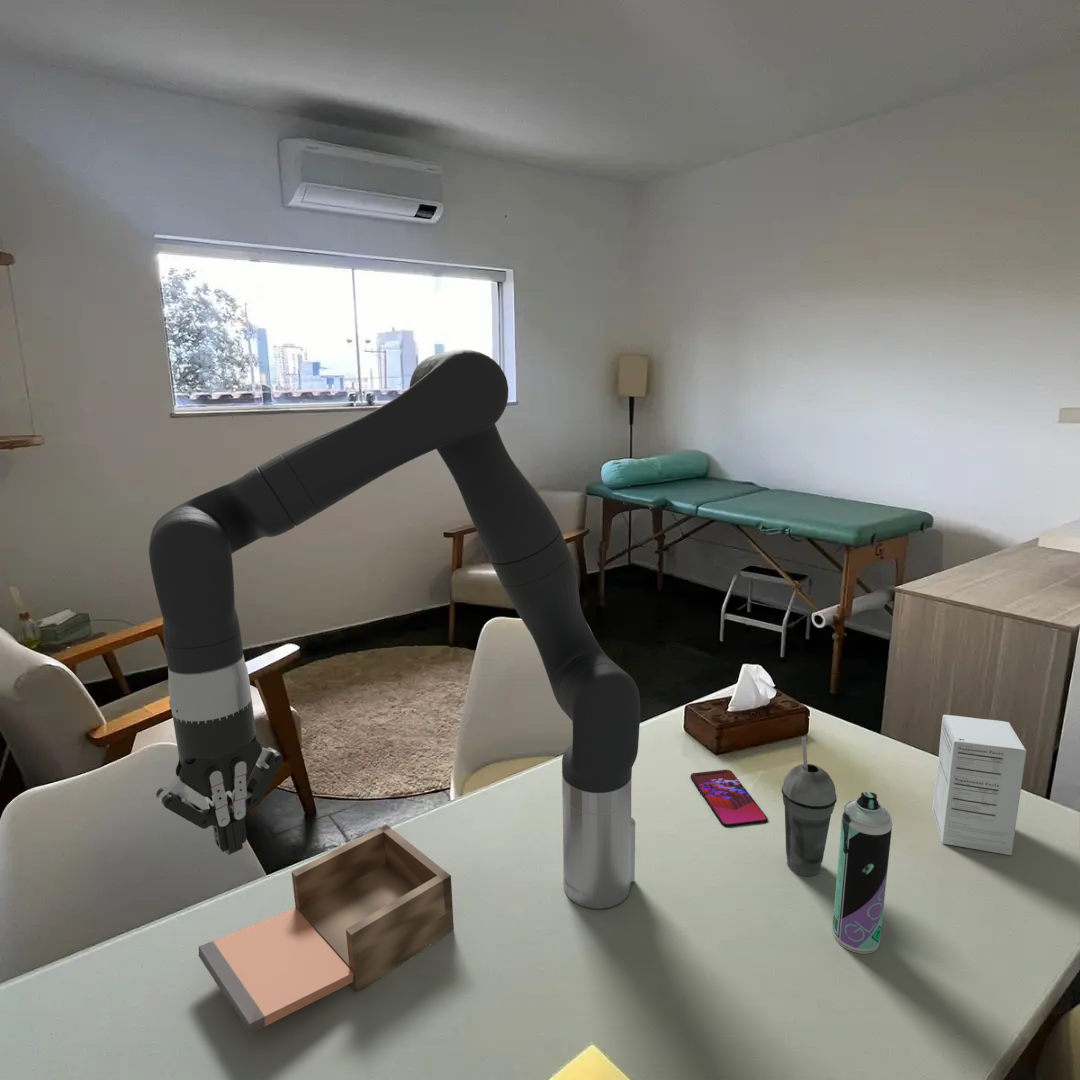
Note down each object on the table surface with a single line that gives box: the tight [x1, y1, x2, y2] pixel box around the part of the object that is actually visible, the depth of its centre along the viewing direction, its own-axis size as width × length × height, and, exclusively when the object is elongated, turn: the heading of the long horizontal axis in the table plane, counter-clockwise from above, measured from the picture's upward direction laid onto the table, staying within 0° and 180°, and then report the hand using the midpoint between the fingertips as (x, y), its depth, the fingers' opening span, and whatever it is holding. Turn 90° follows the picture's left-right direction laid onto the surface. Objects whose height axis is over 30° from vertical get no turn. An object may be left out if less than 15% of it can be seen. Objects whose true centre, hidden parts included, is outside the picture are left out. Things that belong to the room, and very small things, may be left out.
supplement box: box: [931, 714, 1027, 856], centre depth 109 cm, size 10×9×17 cm
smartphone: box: [690, 769, 768, 828], centre depth 121 cm, size 8×1×15 cm
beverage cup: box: [780, 736, 838, 877], centre depth 102 cm, size 7×7×20 cm
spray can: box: [831, 791, 893, 955], centre depth 89 cm, size 6×6×20 cm
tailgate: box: [198, 907, 354, 1035], centre depth 85 cm, size 1×15×12 cm
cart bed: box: [291, 824, 455, 994], centre depth 94 cm, size 14×15×8 cm
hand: (232, 848), depth 79 cm, fingers closed
